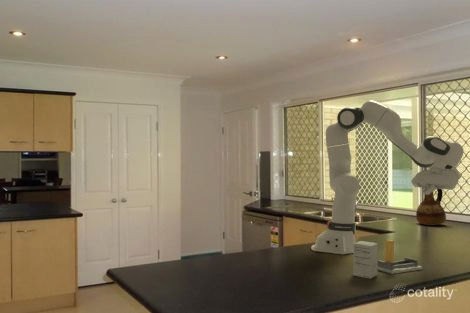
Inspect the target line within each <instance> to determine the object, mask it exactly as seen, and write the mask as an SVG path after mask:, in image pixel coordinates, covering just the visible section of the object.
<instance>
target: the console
mask: <svg viewBox="0 0 470 313" xmlns="http://www.w3.org/2000/svg"><path fill="white" fill-rule="evenodd" d="M418 261H419V260H418V259H415V258H411V257H408V256H404V260H403V259H402V260H395V261H394V262H395V263H396V265H391V263H387V262H385V260H380V259H378V271H381V272H385V273H388V274H391V275H394V274H401V273H408V272H409V273H410V272H416V271H422V270H423V269H424V268H423V266H422V265H419V264H418Z"/></svg>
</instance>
